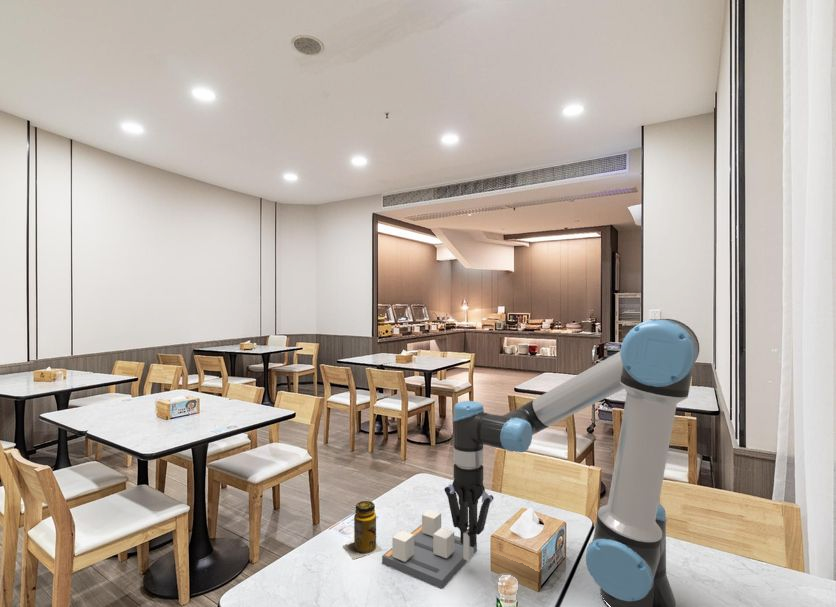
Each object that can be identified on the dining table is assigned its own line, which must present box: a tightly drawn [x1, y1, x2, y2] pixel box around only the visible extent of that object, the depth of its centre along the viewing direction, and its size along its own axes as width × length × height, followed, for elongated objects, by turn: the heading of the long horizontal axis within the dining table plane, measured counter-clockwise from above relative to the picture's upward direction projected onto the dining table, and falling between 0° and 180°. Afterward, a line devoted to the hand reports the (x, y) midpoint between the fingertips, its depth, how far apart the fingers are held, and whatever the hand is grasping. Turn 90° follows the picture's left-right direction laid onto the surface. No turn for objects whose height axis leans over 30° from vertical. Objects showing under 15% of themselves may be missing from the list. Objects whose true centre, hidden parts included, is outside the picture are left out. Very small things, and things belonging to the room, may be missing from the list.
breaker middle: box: [433, 527, 455, 558], centre depth 111 cm, size 4×4×5 cm
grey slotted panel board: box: [381, 524, 478, 590], centre depth 113 cm, size 18×19×2 cm
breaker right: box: [421, 508, 442, 536], centre depth 121 cm, size 4×4×5 cm
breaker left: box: [391, 530, 414, 562], centre depth 110 cm, size 4×4×5 cm
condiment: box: [342, 500, 382, 560], centre depth 117 cm, size 7×8×12 cm
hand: (468, 557), depth 107 cm, fingers closed
